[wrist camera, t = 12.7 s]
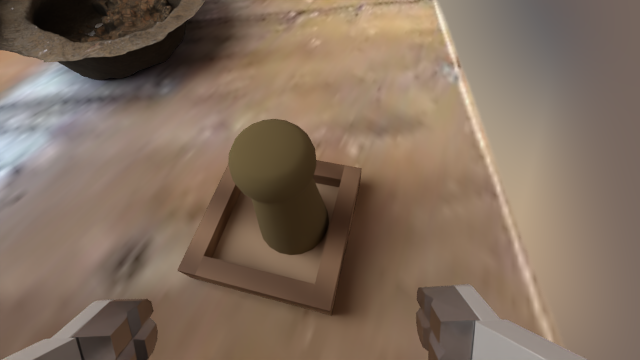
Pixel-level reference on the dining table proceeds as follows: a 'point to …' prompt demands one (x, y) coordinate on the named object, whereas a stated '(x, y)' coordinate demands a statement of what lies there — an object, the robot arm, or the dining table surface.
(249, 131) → the cork
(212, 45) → the dining table surface
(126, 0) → the stone bowl
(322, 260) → the walnut socket block
